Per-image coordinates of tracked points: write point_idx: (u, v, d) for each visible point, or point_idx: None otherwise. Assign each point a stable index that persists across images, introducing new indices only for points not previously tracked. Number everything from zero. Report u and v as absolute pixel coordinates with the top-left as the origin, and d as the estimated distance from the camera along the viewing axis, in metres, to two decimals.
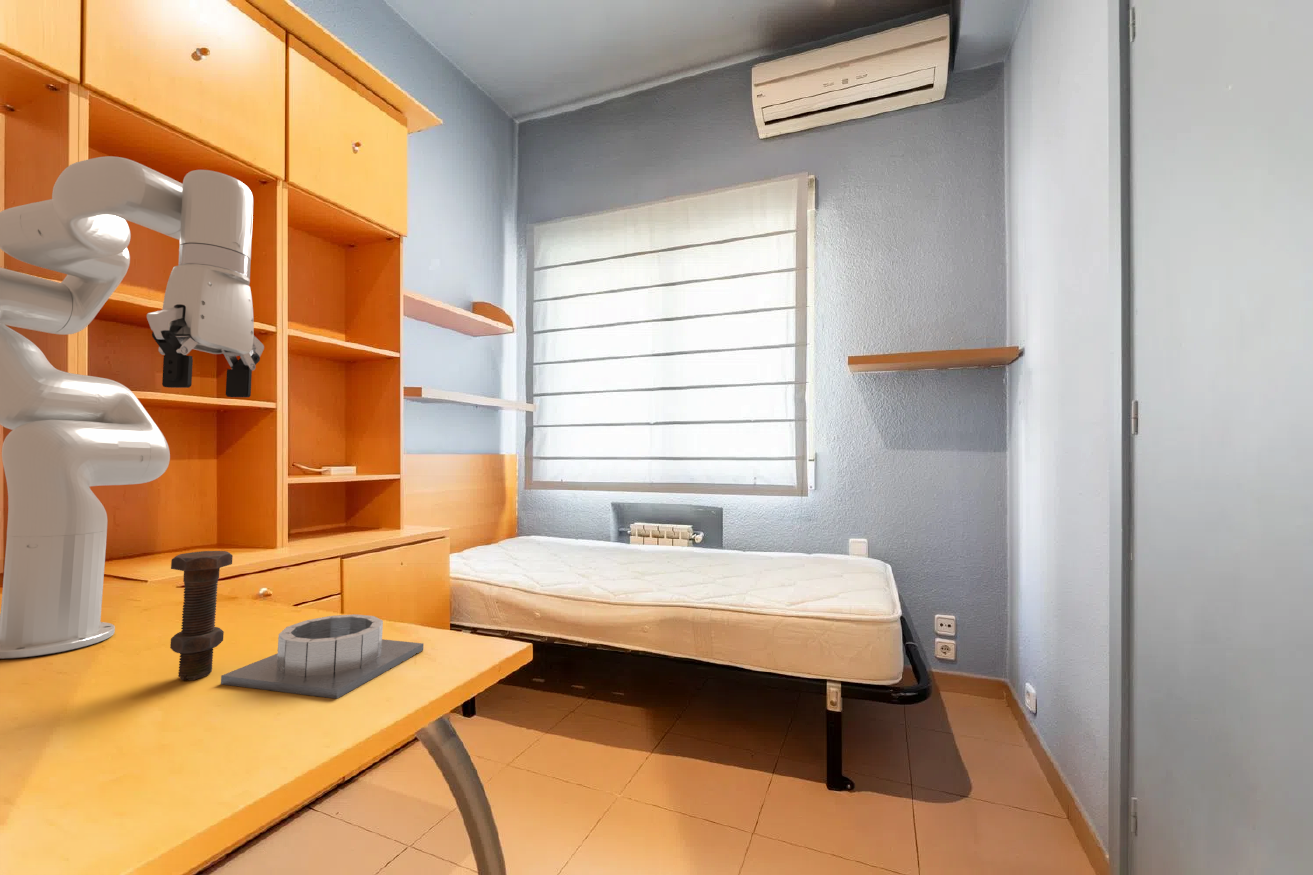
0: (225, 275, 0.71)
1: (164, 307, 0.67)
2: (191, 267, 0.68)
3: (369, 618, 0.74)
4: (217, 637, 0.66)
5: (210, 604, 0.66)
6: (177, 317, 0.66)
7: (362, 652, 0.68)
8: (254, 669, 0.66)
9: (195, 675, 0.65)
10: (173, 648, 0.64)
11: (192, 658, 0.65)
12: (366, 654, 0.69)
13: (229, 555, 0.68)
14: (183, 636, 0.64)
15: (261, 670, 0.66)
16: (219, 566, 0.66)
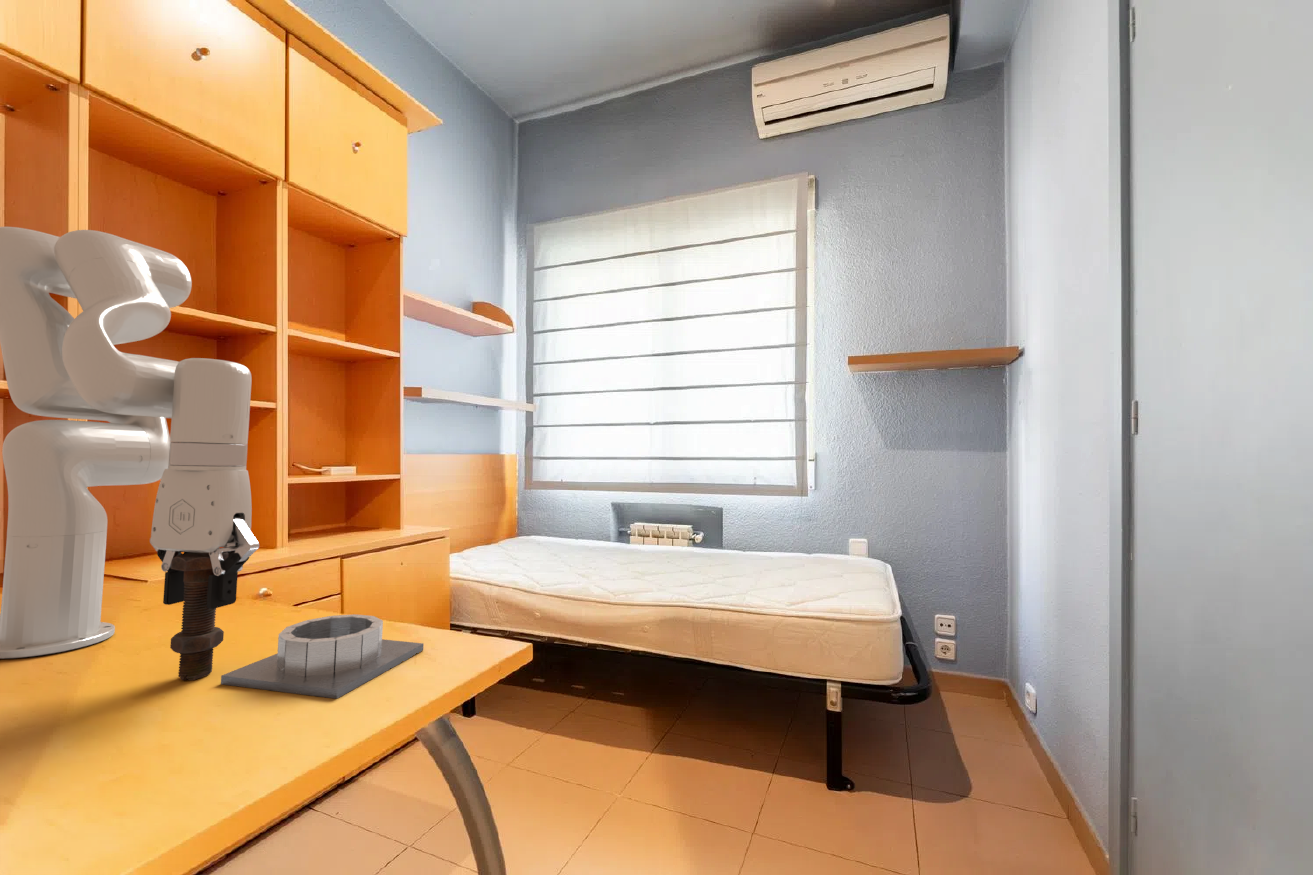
0: None
1: (222, 517, 0.64)
2: (242, 471, 0.67)
3: (369, 618, 0.74)
4: (217, 637, 0.66)
5: None
6: None
7: (362, 652, 0.68)
8: (254, 669, 0.66)
9: (195, 675, 0.65)
10: (173, 648, 0.64)
11: (192, 658, 0.65)
12: (366, 654, 0.69)
13: None
14: (183, 636, 0.64)
15: (261, 670, 0.66)
16: None
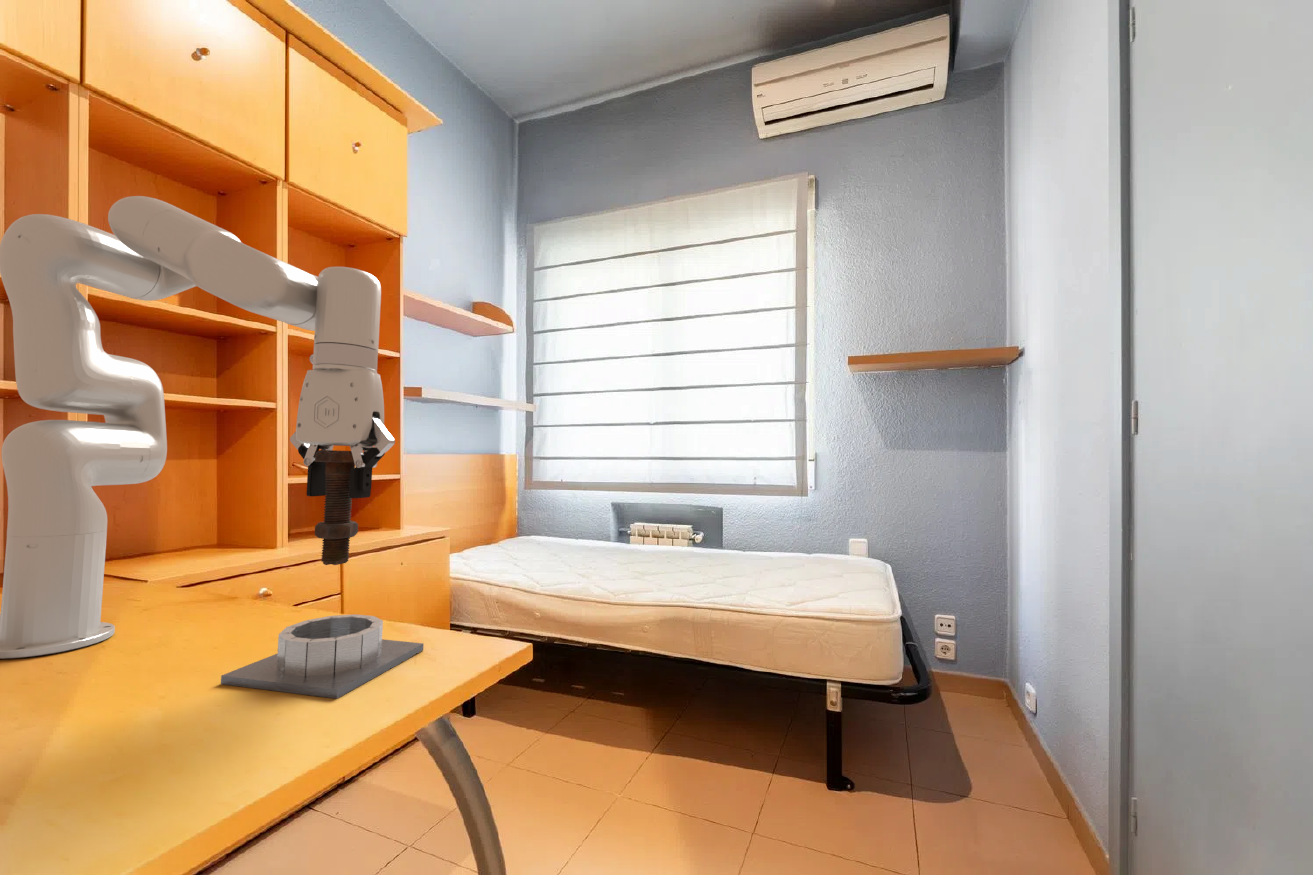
0: None
1: (364, 412, 0.69)
2: (377, 374, 0.72)
3: (369, 618, 0.74)
4: (354, 528, 0.71)
5: (348, 496, 0.71)
6: None
7: (362, 652, 0.68)
8: (254, 669, 0.66)
9: (337, 560, 0.70)
10: (318, 534, 0.69)
11: (334, 544, 0.69)
12: (366, 654, 0.69)
13: (363, 453, 0.72)
14: (327, 523, 0.69)
15: (261, 670, 0.66)
16: None
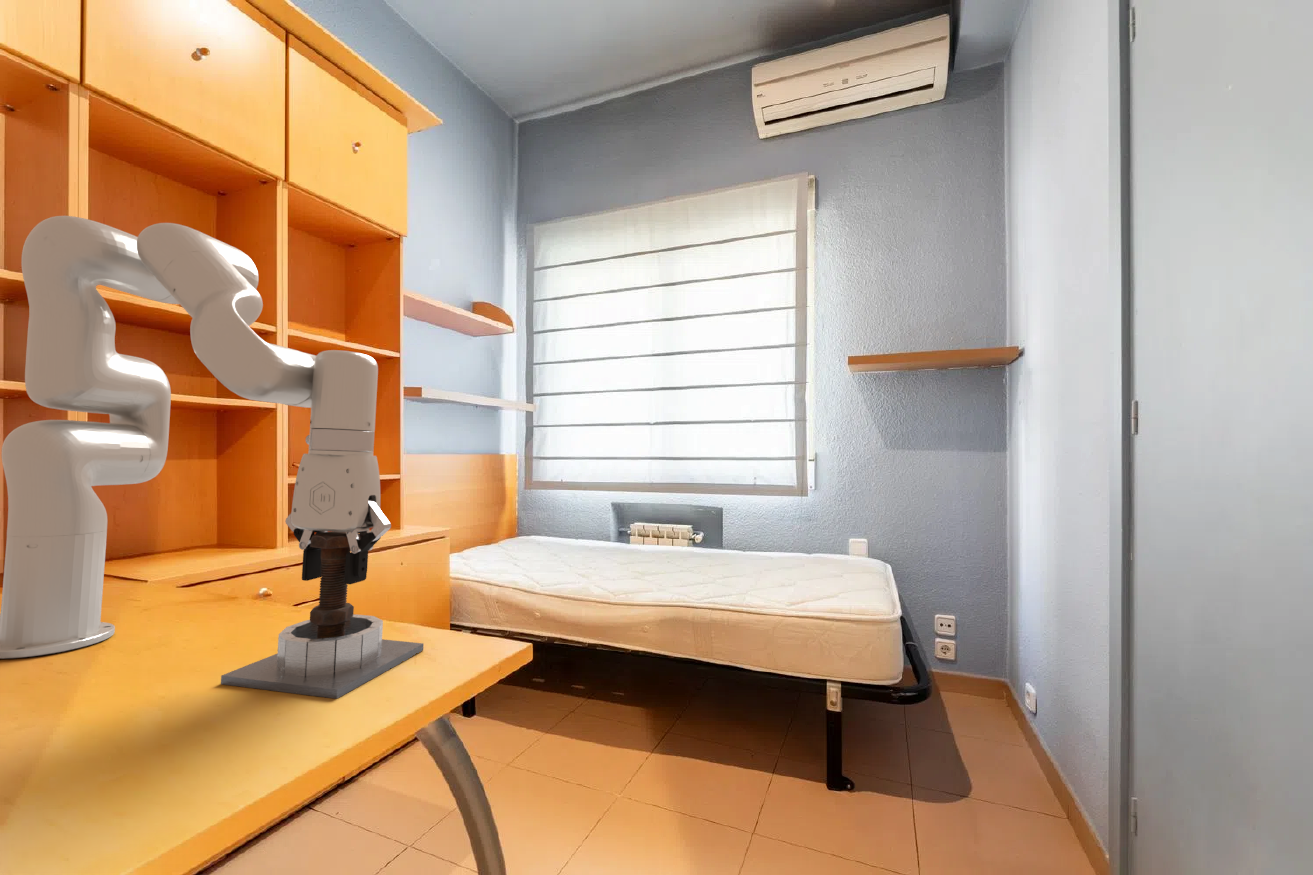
0: None
1: (360, 499, 0.68)
2: (373, 457, 0.71)
3: (369, 618, 0.74)
4: (350, 611, 0.71)
5: (344, 580, 0.70)
6: None
7: (362, 652, 0.68)
8: (254, 669, 0.66)
9: None
10: (313, 620, 0.69)
11: (330, 630, 0.69)
12: (366, 654, 0.69)
13: (359, 535, 0.72)
14: (322, 609, 0.69)
15: (261, 670, 0.66)
16: None
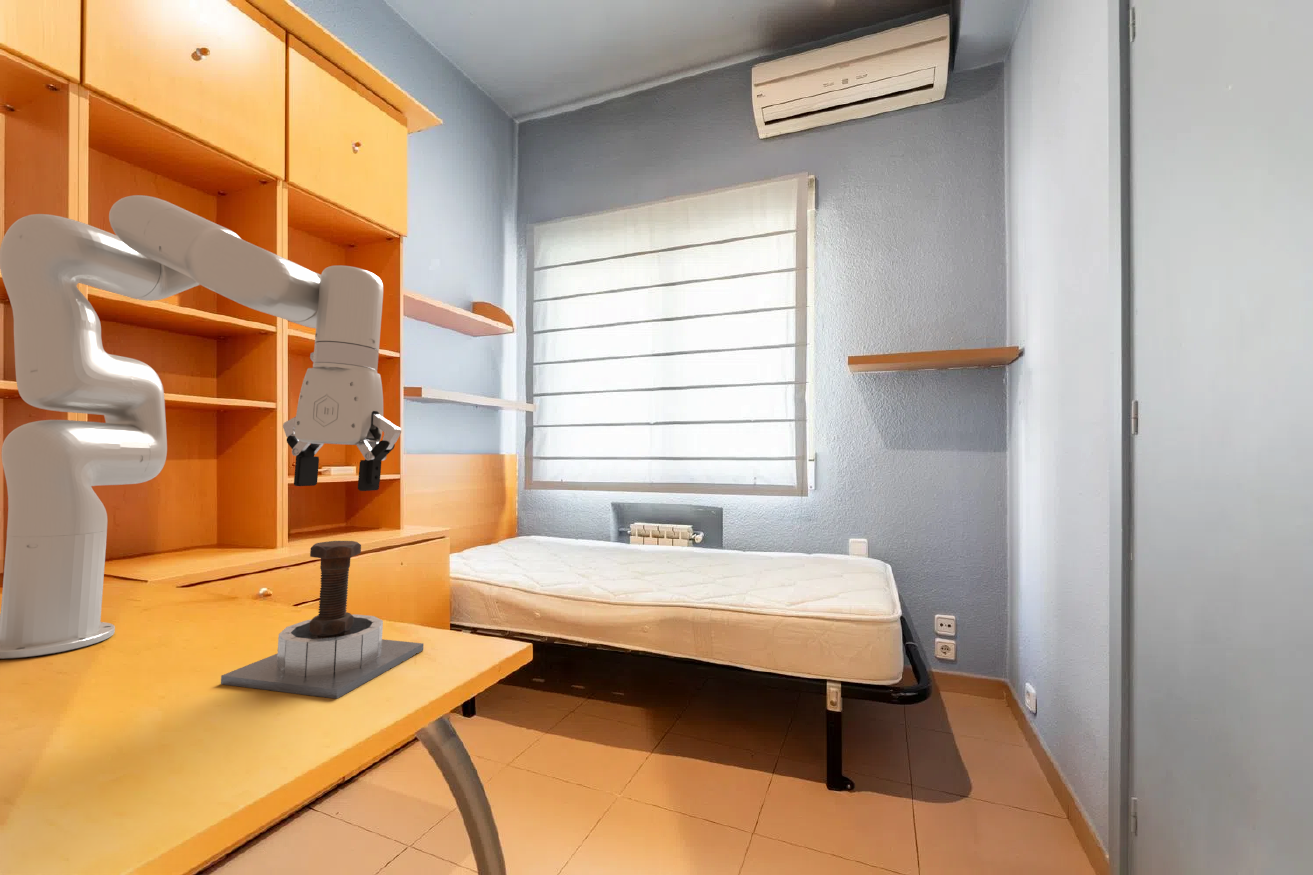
0: None
1: (363, 412, 0.69)
2: (377, 374, 0.72)
3: (369, 618, 0.74)
4: (349, 621, 0.71)
5: (344, 590, 0.70)
6: None
7: (362, 652, 0.68)
8: (254, 669, 0.66)
9: None
10: (312, 630, 0.69)
11: None
12: (366, 654, 0.69)
13: (359, 544, 0.72)
14: (322, 620, 0.69)
15: (261, 670, 0.66)
16: (353, 554, 0.70)
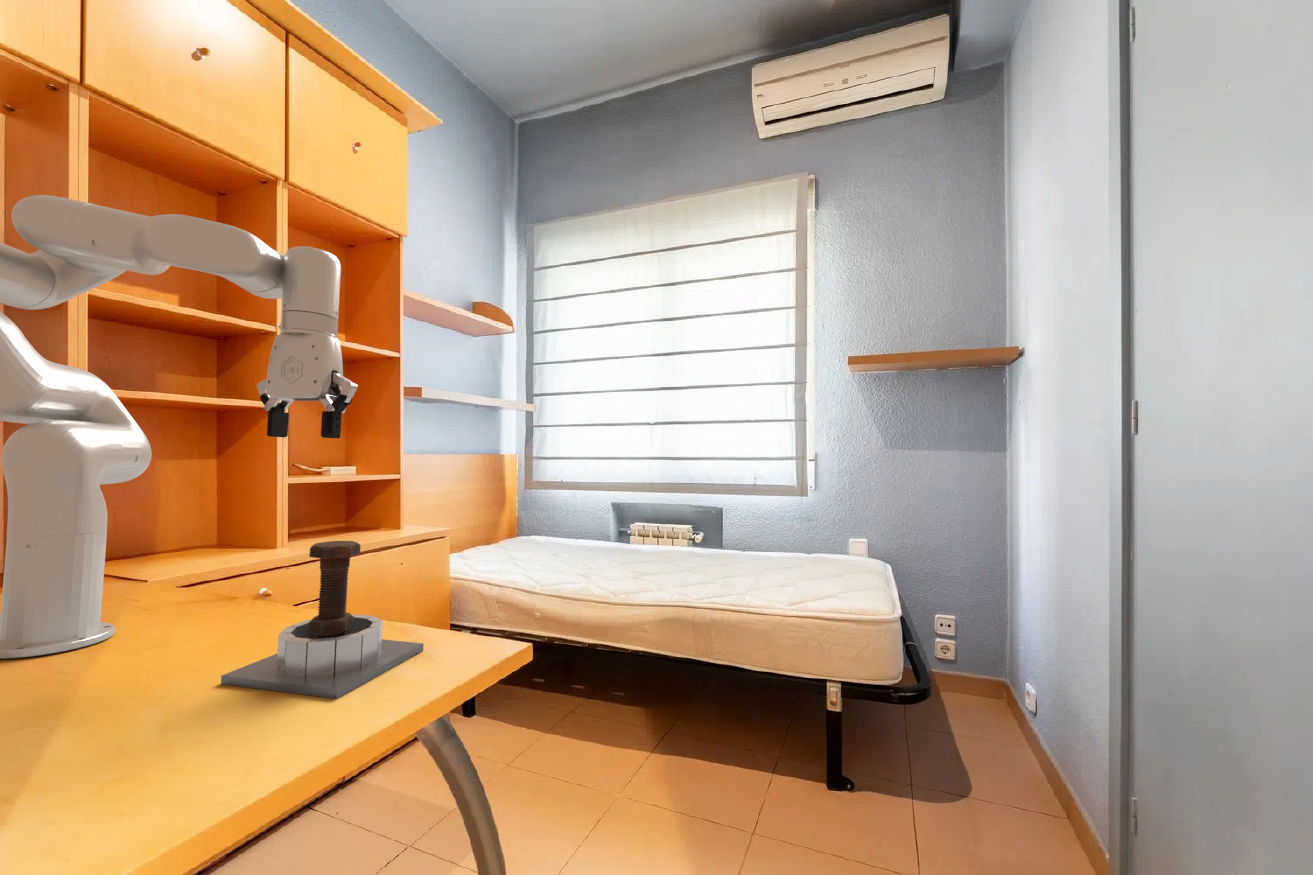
0: None
1: (324, 370, 0.81)
2: (336, 339, 0.84)
3: (369, 618, 0.74)
4: (349, 621, 0.71)
5: (343, 590, 0.70)
6: None
7: (362, 652, 0.68)
8: (254, 669, 0.66)
9: None
10: (312, 631, 0.69)
11: None
12: (366, 654, 0.69)
13: (358, 544, 0.72)
14: (321, 620, 0.69)
15: (261, 670, 0.66)
16: (352, 555, 0.70)
